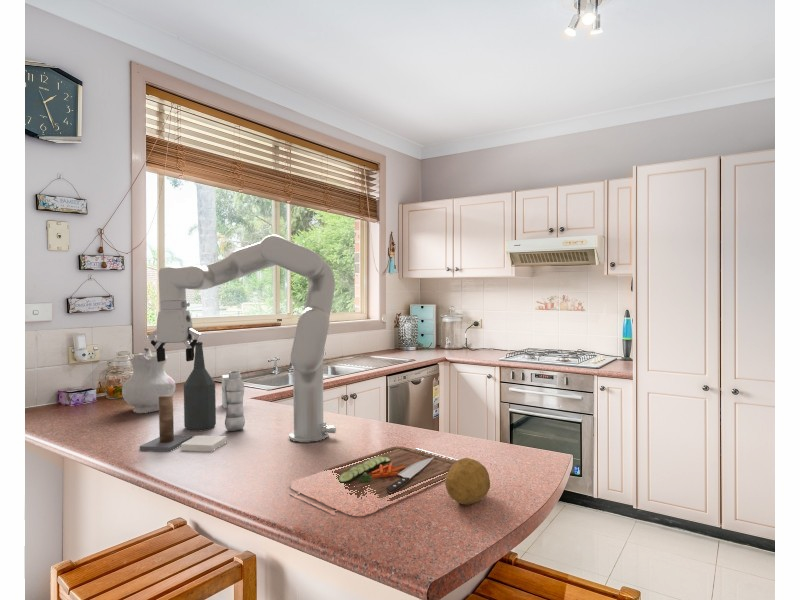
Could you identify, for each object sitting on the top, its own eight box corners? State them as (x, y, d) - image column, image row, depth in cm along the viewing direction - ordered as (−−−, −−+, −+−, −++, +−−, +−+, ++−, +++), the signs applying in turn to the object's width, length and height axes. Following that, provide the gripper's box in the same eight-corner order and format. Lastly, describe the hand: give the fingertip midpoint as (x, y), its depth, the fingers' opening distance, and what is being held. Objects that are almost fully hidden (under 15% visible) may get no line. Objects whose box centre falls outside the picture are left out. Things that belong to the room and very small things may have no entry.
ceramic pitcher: (117, 411, 206) (110, 351, 204) (166, 400, 219) (161, 343, 217) (131, 421, 190) (125, 356, 188) (184, 408, 203) (178, 348, 201)
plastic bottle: (220, 431, 171) (219, 372, 170) (235, 426, 177) (234, 370, 176) (234, 433, 168) (233, 374, 167) (249, 428, 174) (248, 371, 173)
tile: (226, 436, 158) (196, 435, 159) (212, 445, 149) (180, 444, 151) (226, 443, 158) (196, 442, 160) (212, 452, 149) (180, 451, 151)
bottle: (199, 422, 183) (197, 340, 182) (221, 424, 179) (220, 340, 179) (178, 430, 173) (176, 343, 172) (201, 432, 170) (199, 343, 169)
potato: (501, 455, 115) (464, 445, 120) (476, 477, 104) (436, 464, 109) (498, 495, 116) (462, 483, 121) (473, 520, 105) (434, 506, 110)
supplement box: (221, 404, 211) (221, 374, 211) (240, 403, 214) (239, 373, 214) (223, 408, 205) (223, 377, 204) (242, 406, 208) (242, 376, 207)
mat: (192, 439, 161) (192, 435, 161) (170, 451, 150) (170, 447, 150) (164, 438, 163) (164, 434, 163) (139, 450, 151) (139, 446, 151)
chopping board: (403, 447, 153) (403, 437, 153) (476, 467, 135) (476, 456, 135) (276, 491, 121) (275, 478, 120) (349, 526, 102) (349, 511, 102)
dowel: (176, 439, 158) (175, 394, 158) (168, 443, 154) (167, 397, 154) (164, 438, 158) (163, 394, 158) (156, 442, 154) (155, 397, 154)
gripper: (205, 305, 160) (207, 358, 160) (155, 306, 162) (157, 359, 162) (192, 306, 152) (194, 362, 153) (140, 307, 155) (142, 363, 155)
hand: (175, 361), depth 157 cm, fingers open, 9 cm apart
